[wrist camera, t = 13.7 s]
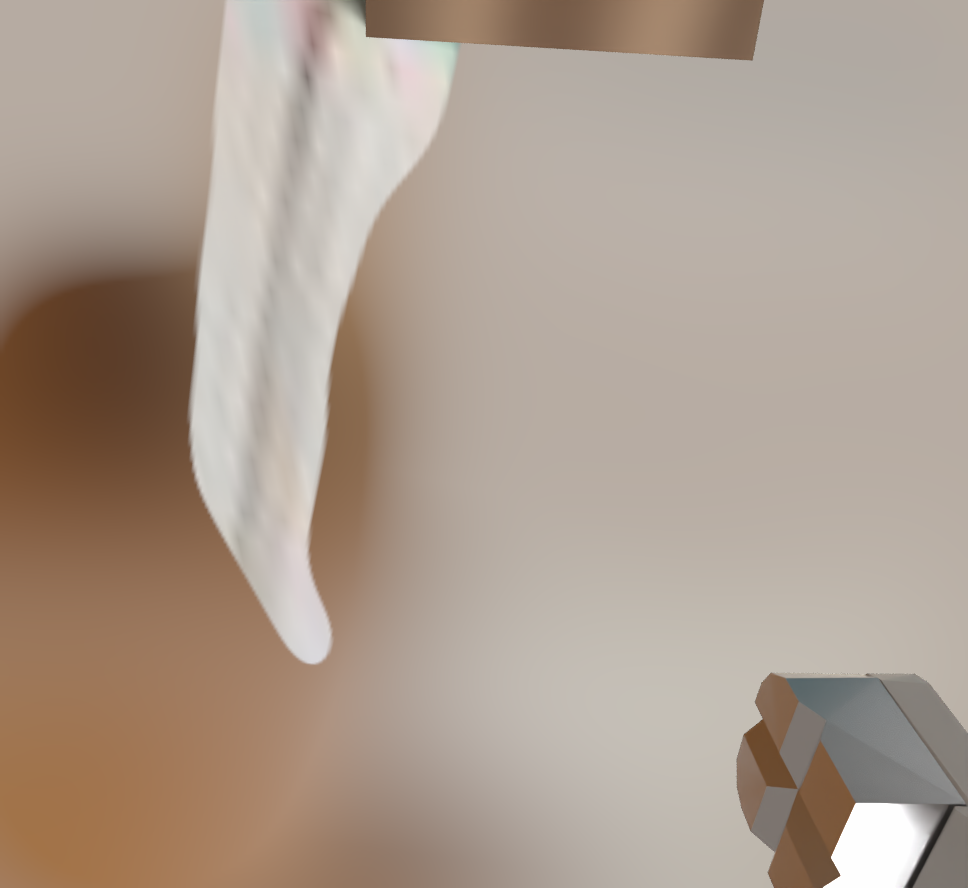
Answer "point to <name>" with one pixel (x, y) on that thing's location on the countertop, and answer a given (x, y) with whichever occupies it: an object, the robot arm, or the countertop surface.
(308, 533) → the countertop surface
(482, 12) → the walnut block
